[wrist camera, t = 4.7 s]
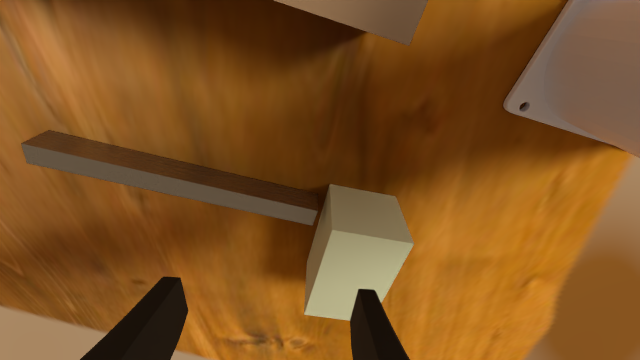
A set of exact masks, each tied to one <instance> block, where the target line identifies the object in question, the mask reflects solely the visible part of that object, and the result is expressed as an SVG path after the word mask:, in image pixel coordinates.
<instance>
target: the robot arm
mask: <svg viewBox="0 0 640 360" xmlns="http://www.w3.org/2000/svg"><path fill="white" fill-rule="evenodd" d="M524 102H525V106H524V107H523V108H521V109H519V108H520V105H521V104H522V103H524ZM503 107H504V109H505V110H507V111H508V112H510V113H513V114H516V115H519V116H522V117H525V118H529V119H532V120H535V121H538V122H541V123H544V124H548V125H551V126H554V127H557V128H560V129H563V130H567V131H570V132H573V133H576V134H579V135H582V136H586V137H589V138H592V139H595V140H598V141H601V142H605V143H608V144H611V145H614V146H616V147H618V148H620V149H622V150H624V151H626V152H628V153H631V154H633V155H635V156H637V157H639V158H640V0H568V2H567V3H566V5H565V7H564V8H563V10H562V11H561V13H560V14H559V16H558V18H557V19H556V21H555V22H554V24H553V25H552V27H551V29H550V30H549V32H548V33H547V35H546V36H545V38H544V39H543V41H542V43H541V44H540V46H539V47H538V49H537V50H536V52H535V54H534V55H533V57H532V58H531V60H530V61H529V63H528V65H527V66H526V68H525V69H524V71H523V72H522V74H521V76H520V77H519V79H518V80H517V82H516V83H515V85H514V86H513V88H512V90H511V91H510V93H509V94H508V96H507V97H506V99H505V101H504V103H503ZM187 313H188V307H187V303H186V299H185V295H184V291H183V286H182V282H181V278H178V277H163V278H161V279H160V280H159V281H158V282H157V283H156V285H155V286H154V287H153V288H152V289H151V290H150V291H149V292H148V293H147V294H146V295H145V296H144V297H143V298H142V299H141V300H140V301H139V303H138V304H137V305H136V306H135V307H134V308H133V309H132V310H131V311H130V312H129V313H128V314H127V315H126V316H125V317H124V318H123V319H122V320H121V321H120V322H119V323H118V324H117V325H116V326H115V327H114V328H113V329H112V330H111V331H110V332H109V333H108V334H107V335H106V336H105V337H104V338H103V339H102V340H100V341H99V342H98V343H97V344H96V345H95V346H94V347H93V348H92V349H91V350H90V351H89V352H88V353H86V355H84V356H83V357H82V358H81V359H80V360H170V359H171V356H172V355H173V352H174V350H175V348H176V345H177V343H178V341H179V338H180V335H181V332H182V329H183V326H184V323H185V320H186V317H187ZM350 327H351V348H352V355H353V360H410V359H409V357H408V356H407V354H406V352H405V350H404V348H403V347H402V345H401V343H400V341H399V339H398V337H397V335H396V333H395V331H394V330H393V328H392V326H391V324H390V321H389V319H388V317H387V315H386V313H385V311H384V309H383V307H382V304H381V302H380V300H379V297H378V295H377V293H376V291H375V290H373V289H358V292H357V296H356V300H355V303H354V307H353V311H352V315H351V318H350Z"/></svg>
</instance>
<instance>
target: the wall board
mask: <svg viewBox="0 0 640 360" xmlns="http://www.w3.org/2000/svg"><path fill="white" fill-rule="evenodd" d="M274 1H277V2H280V3H283V4H286V5H289V6H292V7H295V8H298V9H301V10H304V11H307V12H310V13H313V14H316V15H319V16H322V17H325V18H328V19H331V20H334V21H337V22H340V23H343V24H346V25H349V26H352V27H355V28H358V29H360V30H363V31H366V32H369V33H372V34H375V35H378V36H381V37H384V38H387V39H390V40H393V41H396V42H399V43H402V44H405V45H408V46H409V45H410V43H411V40H412V38H413V35H414V33H415V31H416V28H417V26H418V23H419V21H420V19H421V16H422V14H423V11H424V9H425V7H426V4H427V2H428V0H274Z"/></svg>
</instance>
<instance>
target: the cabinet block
mask: <svg viewBox="0 0 640 360" xmlns="http://www.w3.org/2000/svg"><path fill="white" fill-rule="evenodd" d="M413 245H414V242H413V240H412V237H411V235H410V232H409V230H408V227H407V224H406V222H405V219H404V217H403V214H402V212H401V209H400V206H399V204H398V201H397V199H396V196H391V195H385V194H380V193H375V192H370V191H364V190H359V189H354V188H349V187H343V186H338V185H333V184H330V185H329V188H328V192H327V195H326V198H325V202H324V205H323V209H322V212H321V216H320V219H319V222H318V226H317V229H316V233H315V236H314V239H313V243H312V246H311V250H310V253H309V257H308V260H307V268H306V288H305V308H304V314H305V315H312V316H320V317H327V318H334V319H342V320H349V321H350V318H351V315H352V311H353V307H354V303H355V300H356V296H357V292H358V289H373V290H375V291H376V293H377V295H378V297H379V300H380V302H381V303H382V301H383V299H384V297H385V295H386V294H387V292H388V290H389V288H390V286H391V285H392V283H393V281H394V279H395V277H396V276H397V274H398V272H399V270H400V268H401V267H402V265H403V263H404V261H405V259H406V257H407V256H408V254H409V252H410V250H411V248H412V247H413Z"/></svg>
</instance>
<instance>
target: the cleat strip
mask: <svg viewBox="0 0 640 360" xmlns="http://www.w3.org/2000/svg"><path fill="white" fill-rule="evenodd" d="M21 144H22V148H23V151H24V155H25V158H26V162H27V163H29V164H34V165H38V166H43V167H47V168H52V169H57V170H61V171H66V172H70V173H75V174H79V175H84V176H88V177H93V178H98V179H102V180H107V181H111V182H116V183H120V184H125V185H129V186H134V187H139V188H143V189H148V190H152V191H157V192H161V193H166V194H170V195H175V196H180V197H184V198H189V199H193V200H198V201H202V202H207V203H211V204H216V205H221V206H225V207H230V208H234V209H239V210H243V211H248V212H252V213H257V214H261V215H266V216H271V217H275V218H280V219H284V220H289V221H293V222H298V223H302V224H307V225H312V226H313V223H314V220H315V217H316V215H317V212H318V194H316V193H312V192H307V191H303V190H299V189H295V188H290V187H286V186H282V185H278V184H274V183H269V182H265V181H261V180H257V179H253V178H248V177H244V176H240V175H236V174H232V173H227V172H223V171H219V170H215V169H211V168H206V167H202V166H198V165H194V164H189V163H185V162H181V161H177V160H173V159H168V158H164V157H160V156H156V155H152V154H147V153H143V152H139V151H135V150H131V149H126V148H122V147H118V146H114V145H110V144H105V143H101V142H97V141H93V140H88V139H84V138H80V137H76V136H72V135H67V134H63V133H59V132H55V131H51V130H48V131H46V132H44V133H42V134H40V135H38V136H36V137H34V138H32V139H30V140H27V141H25V142H23V143H21Z"/></svg>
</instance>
